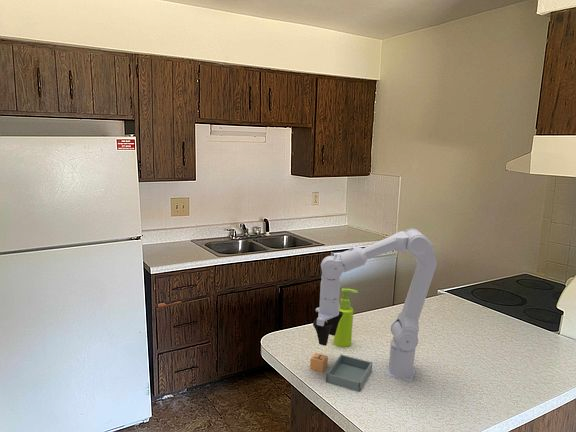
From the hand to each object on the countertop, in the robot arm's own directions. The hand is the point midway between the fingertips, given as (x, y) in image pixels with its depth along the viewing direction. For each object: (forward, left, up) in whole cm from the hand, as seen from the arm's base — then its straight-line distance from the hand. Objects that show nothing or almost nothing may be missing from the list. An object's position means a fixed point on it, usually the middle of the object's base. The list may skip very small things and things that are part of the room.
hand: (327, 339), depth 130 cm
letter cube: (+1, -2, -10) cm, 10 cm away
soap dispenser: (-18, 0, -10) cm, 20 cm away
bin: (+1, +8, -10) cm, 13 cm away
